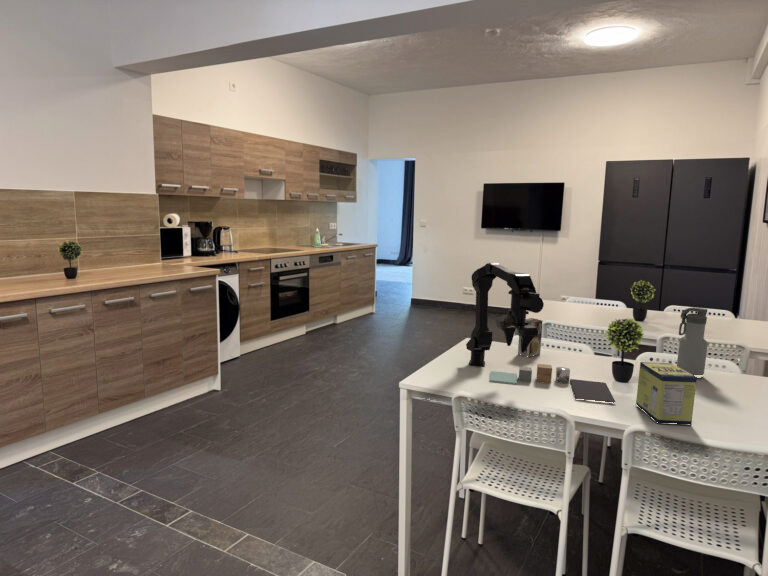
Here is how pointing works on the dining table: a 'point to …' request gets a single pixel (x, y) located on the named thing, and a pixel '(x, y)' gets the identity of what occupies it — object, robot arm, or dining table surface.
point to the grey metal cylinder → (562, 374)
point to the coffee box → (535, 344)
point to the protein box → (666, 392)
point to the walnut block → (544, 373)
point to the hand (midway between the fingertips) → (515, 348)
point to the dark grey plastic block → (525, 374)
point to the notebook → (591, 390)
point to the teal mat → (503, 377)
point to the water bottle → (693, 342)
